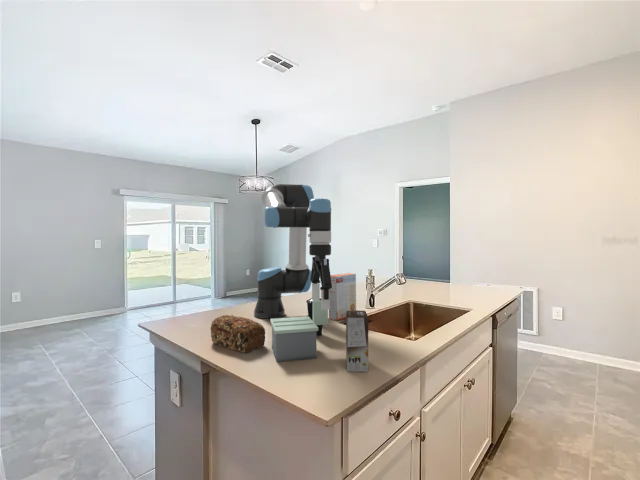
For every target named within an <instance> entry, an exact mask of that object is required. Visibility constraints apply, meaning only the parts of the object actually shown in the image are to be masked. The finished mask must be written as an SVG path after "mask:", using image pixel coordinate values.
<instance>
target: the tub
mask: <svg viewBox="0 0 640 480" xmlns="http://www.w3.org/2000/svg"><path fill="white" fill-rule="evenodd" d="M271 349H272V353H273V355H274V358H275V361H276V363H279V362H287V361H289V362H291V361H297V360H299V361H300V360H310V359H317V337H316V331H309V332H296V333H282V334H275V333H274V330H273V328H272V327H271Z"/></svg>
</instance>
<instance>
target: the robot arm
mask: <svg viewBox="0 0 640 480" xmlns="http://www.w3.org/2000/svg"><path fill="white" fill-rule="evenodd" d="M261 200H262V204H263V205H264V207H265V208H264V212H263V213H264V214H263V216H264V217H263V218H264V220H263V222H264V226H265V227H267V228H274V229H277V228H289V232H288V233H289V235H288V263H287V264H286V265H285V269H282V267H279V266H277V267H276V266H275V267H267V268H263V269H260V270H259V271H258V272H257V279H256V281H257V300H256V304H255V307H254V310H253V316H254V317H255V318H258V319H276V318H283V317H284V316H285V314H286V311H285V306H284V304H283V300H282V294H302V293H308V291H310V289H311V298H312V302H313V301H320V298H321V310H326V309H328V310H329V309H330V288H332V284H331V276H330V275H331V270H330V258H327V256H331V255H332V245H331V244H330V243H332V202H331V200H330V199H328V198H315V195H314V191H313V189H312V187H311V186H310V185H307V184H303V183H302V184H289V183H287V184H285V183H278V184H273V185H271V186H269V187H267V188H266V189H265V190H264V192H263V194H262V196H261ZM307 228H309V230H308V229H307ZM307 231H309V233H308V234H307ZM307 237H308V238H309V243H310V245H309V246H308V247H309V250H308V251H309V256H312V259H311V260H312V262H311V269H310V266H309V265H308V264H307V259H306V258H307ZM320 284H321V285H320Z"/></svg>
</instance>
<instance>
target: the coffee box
mask: <svg viewBox="0 0 640 480" xmlns="http://www.w3.org/2000/svg"><path fill="white" fill-rule="evenodd" d="M345 326H346V327H345V345H346V347H345V351H346V352H345V358H346V359H345V362H346V370H347V372H355V373H359V372H362V373H363V372H364V373H368V372H369V316H368V314H367V311H366V310H357V309H356V311H346V318H345Z"/></svg>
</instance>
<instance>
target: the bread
mask: <svg viewBox="0 0 640 480" xmlns="http://www.w3.org/2000/svg"><path fill="white" fill-rule="evenodd" d="M211 322H212V323H211V325H210V337H211V342H212V343H213V344H214V345H216V344H217V345H218V346H220V347H223V348H225V349H228V350H232V351H237V352H241V353H243V354H245V353H249V352H250V353H251V352H252V351H253V350H255V349H256V350H257V349H260V348H262V347H265V342H266V329H265V327H264V326H263V325H262V324H261V323H259V322H257V321H255V320H253V319H250V318H247V317H242V316H235V315H232V314H231V315H228V314H227V315H221V316H218V317H215V318H214V319H213V321H211Z"/></svg>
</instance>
